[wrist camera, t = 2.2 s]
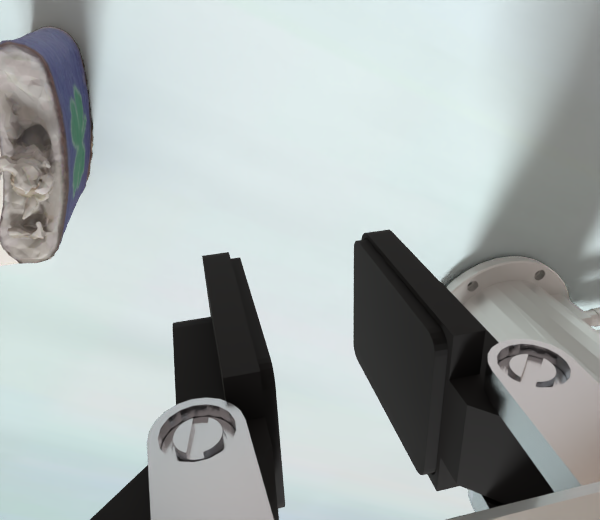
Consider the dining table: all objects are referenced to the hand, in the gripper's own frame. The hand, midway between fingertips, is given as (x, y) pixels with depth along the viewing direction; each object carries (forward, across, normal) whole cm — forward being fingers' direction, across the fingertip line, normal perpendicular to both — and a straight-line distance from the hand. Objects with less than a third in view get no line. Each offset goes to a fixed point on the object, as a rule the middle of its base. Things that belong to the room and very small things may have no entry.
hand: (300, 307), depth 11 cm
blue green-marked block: (+22, +8, 0) cm, 24 cm away
